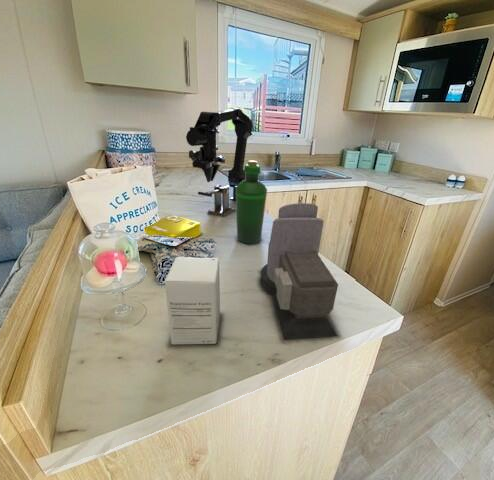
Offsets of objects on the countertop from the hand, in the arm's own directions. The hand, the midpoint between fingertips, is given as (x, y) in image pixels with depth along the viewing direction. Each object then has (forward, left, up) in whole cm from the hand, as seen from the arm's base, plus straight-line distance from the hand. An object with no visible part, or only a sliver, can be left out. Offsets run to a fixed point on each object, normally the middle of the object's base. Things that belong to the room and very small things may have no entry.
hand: (210, 181), depth 122 cm
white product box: (+67, +40, -13) cm, 79 cm away
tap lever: (+6, +6, -4) cm, 9 cm away
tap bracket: (0, +6, -13) cm, 14 cm away
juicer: (+46, +55, -13) cm, 73 cm away
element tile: (+32, +5, -13) cm, 35 cm away
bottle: (+21, +30, -13) cm, 39 cm away
